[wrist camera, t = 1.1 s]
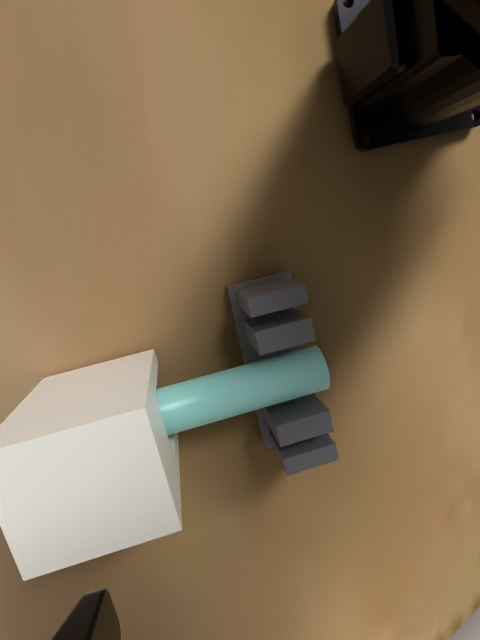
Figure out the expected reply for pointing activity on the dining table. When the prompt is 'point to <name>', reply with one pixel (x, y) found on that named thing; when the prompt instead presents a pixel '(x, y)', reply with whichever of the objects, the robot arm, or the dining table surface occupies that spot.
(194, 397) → the teal cylindrical rod
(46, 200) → the dining table surface
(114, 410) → the sleeve
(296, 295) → the grey ridged block
